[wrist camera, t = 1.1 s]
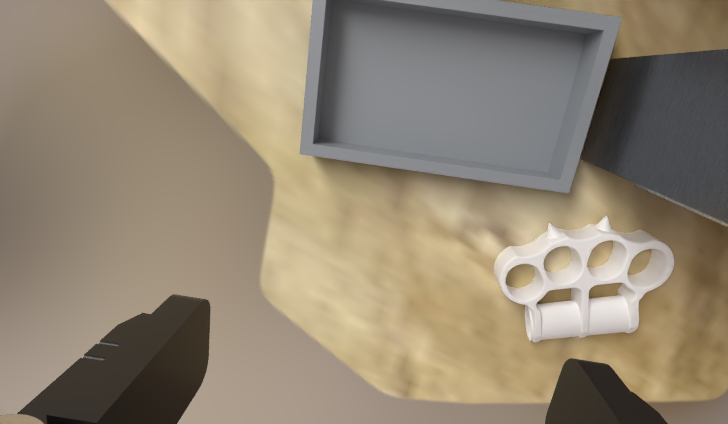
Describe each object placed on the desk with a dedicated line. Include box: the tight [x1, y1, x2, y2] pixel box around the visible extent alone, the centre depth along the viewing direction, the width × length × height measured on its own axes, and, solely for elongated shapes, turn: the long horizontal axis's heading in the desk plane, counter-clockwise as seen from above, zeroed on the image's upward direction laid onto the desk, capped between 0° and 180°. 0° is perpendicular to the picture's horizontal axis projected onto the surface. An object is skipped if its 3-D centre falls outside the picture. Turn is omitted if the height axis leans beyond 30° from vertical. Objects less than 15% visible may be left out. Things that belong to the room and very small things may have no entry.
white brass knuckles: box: [494, 215, 674, 342], centre depth 46 cm, size 3×18×15 cm
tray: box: [300, 0, 622, 194], centre depth 40 cm, size 27×16×4 cm, turn 82°
